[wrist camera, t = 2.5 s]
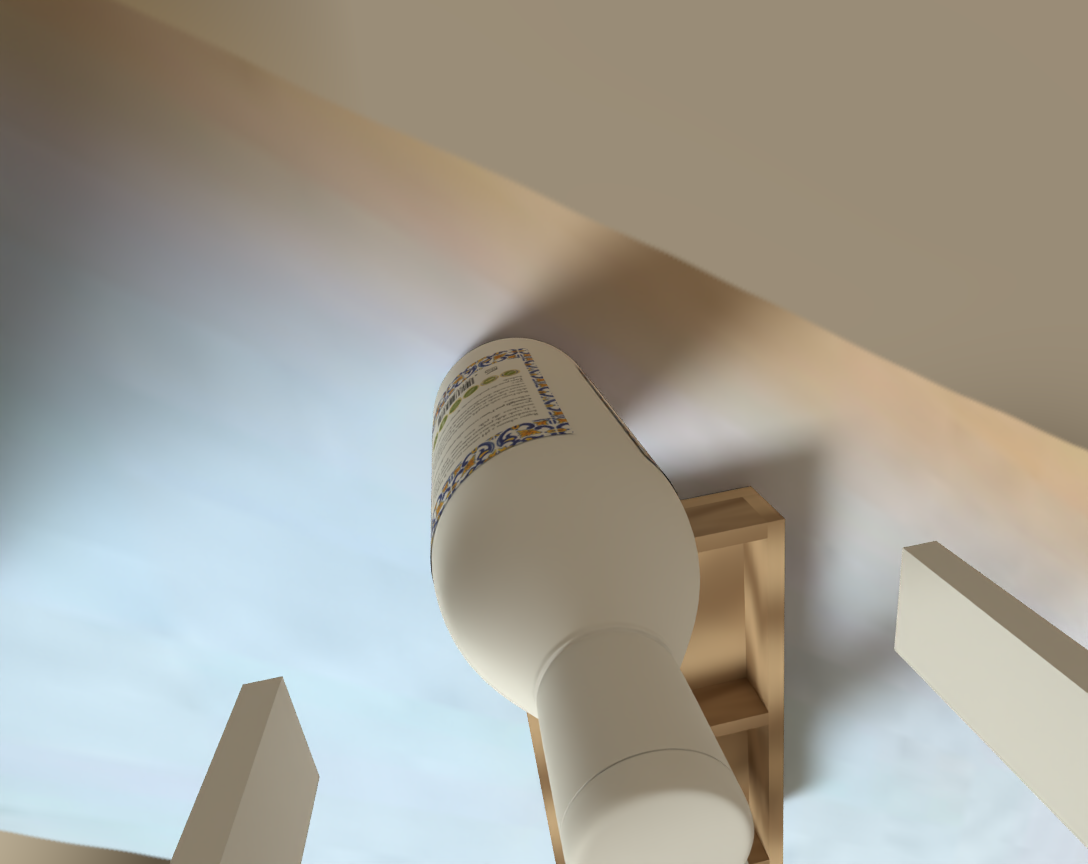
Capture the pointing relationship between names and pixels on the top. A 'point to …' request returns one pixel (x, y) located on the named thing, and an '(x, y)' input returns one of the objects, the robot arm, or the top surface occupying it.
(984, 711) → the robot arm
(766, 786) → the caddy
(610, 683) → the bath foam
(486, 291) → the top surface
